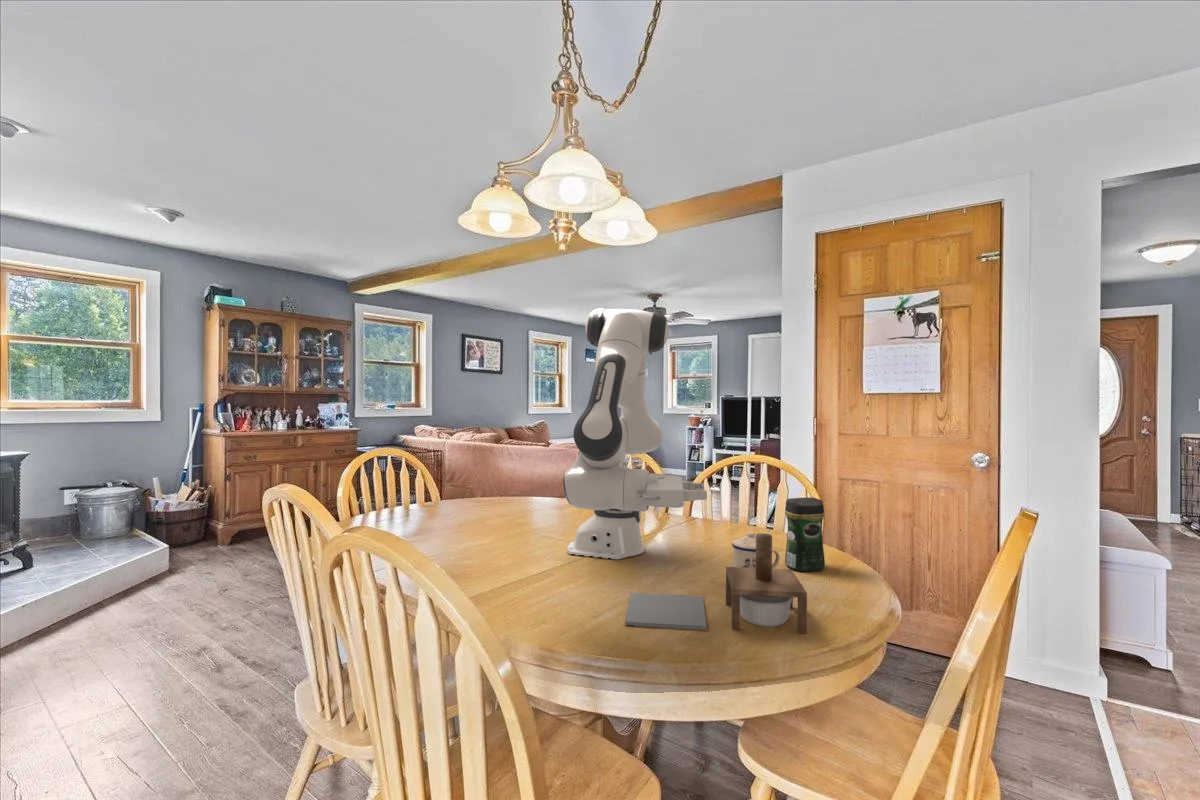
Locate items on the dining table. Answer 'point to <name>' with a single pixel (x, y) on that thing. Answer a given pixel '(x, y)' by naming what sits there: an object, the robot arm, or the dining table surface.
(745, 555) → the teacup with lid
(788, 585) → the walnut cover
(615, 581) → the dining table surface
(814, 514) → the coffee jar
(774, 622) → the ramekin
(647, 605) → the grey rubber mat
